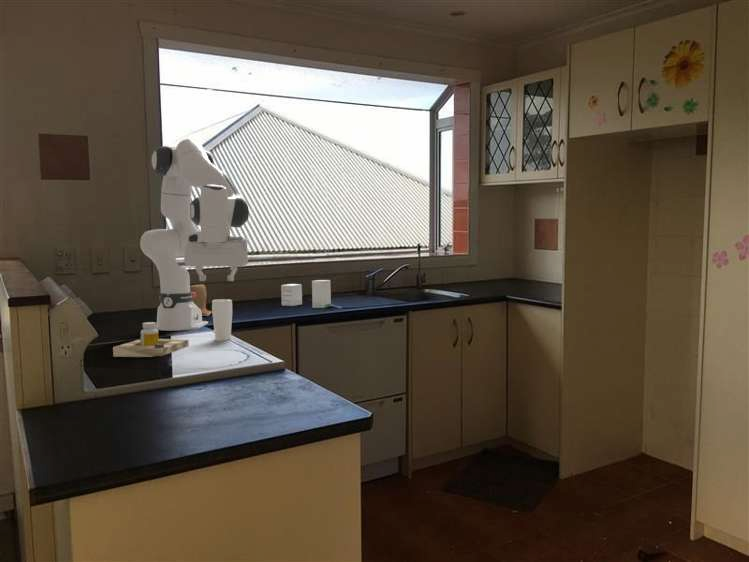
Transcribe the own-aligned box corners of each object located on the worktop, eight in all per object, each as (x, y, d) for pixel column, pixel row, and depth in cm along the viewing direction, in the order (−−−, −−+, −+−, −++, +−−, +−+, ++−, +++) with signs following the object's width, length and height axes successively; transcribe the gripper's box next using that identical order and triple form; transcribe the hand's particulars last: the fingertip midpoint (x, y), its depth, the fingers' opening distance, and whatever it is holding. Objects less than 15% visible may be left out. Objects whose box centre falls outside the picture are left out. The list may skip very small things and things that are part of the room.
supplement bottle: (137, 353, 204) (136, 323, 203) (151, 350, 209) (150, 321, 208) (148, 354, 201) (147, 324, 201) (162, 352, 206) (161, 322, 205)
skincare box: (324, 314, 297) (323, 281, 296) (311, 313, 299) (310, 280, 298) (331, 312, 305) (331, 279, 304) (319, 311, 307) (318, 279, 306)
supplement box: (291, 308, 320) (291, 283, 319) (302, 309, 316) (302, 284, 315) (281, 310, 314) (280, 284, 313) (292, 311, 310) (291, 285, 309)
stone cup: (187, 315, 296) (186, 283, 295) (214, 315, 297) (213, 283, 296) (181, 320, 281) (180, 286, 280) (208, 319, 282) (207, 285, 281)
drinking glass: (211, 342, 223) (210, 299, 222) (231, 341, 226) (230, 298, 225) (214, 345, 217) (213, 301, 216) (234, 344, 220) (233, 300, 218)
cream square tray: (143, 347, 215) (142, 335, 214) (188, 348, 211) (188, 336, 211) (113, 356, 199) (112, 343, 198) (161, 358, 195) (161, 345, 195)
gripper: (250, 236, 200) (251, 280, 201) (190, 236, 205) (192, 279, 206) (242, 236, 194) (243, 281, 195) (180, 237, 198) (182, 281, 200)
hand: (216, 280), depth 201 cm, fingers open, 8 cm apart
